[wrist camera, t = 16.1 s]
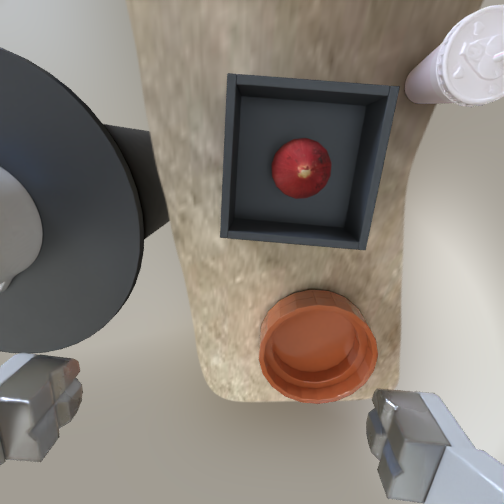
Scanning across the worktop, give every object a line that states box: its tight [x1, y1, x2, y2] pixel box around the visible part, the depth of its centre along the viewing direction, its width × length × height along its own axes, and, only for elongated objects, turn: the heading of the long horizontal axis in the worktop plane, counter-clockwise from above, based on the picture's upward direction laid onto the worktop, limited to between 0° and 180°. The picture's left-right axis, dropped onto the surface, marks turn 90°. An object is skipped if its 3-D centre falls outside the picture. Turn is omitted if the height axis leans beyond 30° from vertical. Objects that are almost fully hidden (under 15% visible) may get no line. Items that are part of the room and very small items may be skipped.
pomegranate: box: [272, 138, 331, 199], centre depth 30 cm, size 6×6×8 cm
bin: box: [220, 73, 400, 250], centre depth 31 cm, size 15×15×7 cm
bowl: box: [259, 290, 378, 404], centre depth 39 cm, size 14×14×4 cm
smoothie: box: [405, 5, 504, 107], centre depth 24 cm, size 6×6×14 cm
